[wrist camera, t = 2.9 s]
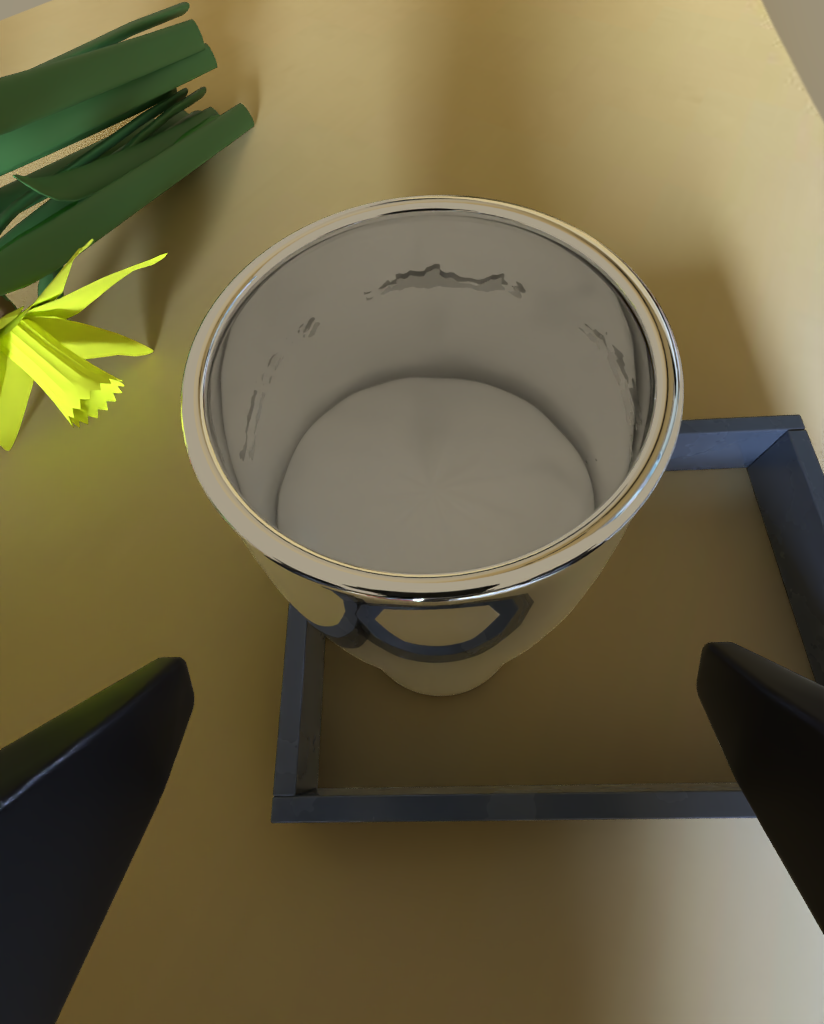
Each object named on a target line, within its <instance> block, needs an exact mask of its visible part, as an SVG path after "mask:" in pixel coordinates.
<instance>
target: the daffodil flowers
mask: <svg viewBox="0 0 824 1024" xmlns="http://www.w3.org/2000/svg"><path fill="white" fill-rule="evenodd" d="M188 9H189V3H187V2H182V3H179V4H177V5H174V6H172V7H169V8H166V9H164V10H161V11H158V12H156V13H153V14H150V15H148V16H145V17H142V18H140V19H137V20H134V21H132V22H129V23H127V24H125V25H123V26H121V27H119V28H117V29H115V30H113V31H111V32H108V33H106V34H104V35H102V36H100V37H98V38H96V39H94V40H92V41H90V42H87V43H85V44H83V45H81V46H79V47H77V48H75V49H73V50H71V51H68V52H66V53H64V54H62V55H60V56H58V57H55V58H53V59H51V60H49V61H47V62H45V63H42V64H40V65H38V66H36V67H34V68H31V69H29V70H26V71H23V72H19V73H15V74H12V75H8V76H4V77H1V78H0V176H2V175H4V174H6V173H9V172H11V171H13V170H15V169H18V168H20V167H22V166H24V165H27V164H29V163H31V162H33V161H36V160H38V159H40V158H42V157H45V156H47V155H49V154H51V153H54V152H56V151H58V150H60V149H62V148H65V147H67V146H69V145H71V144H74V143H76V142H78V141H80V140H82V139H85V138H87V137H89V136H91V135H93V134H96V133H98V132H100V131H102V130H104V129H106V128H108V127H110V126H113V125H115V124H117V123H119V122H121V121H123V120H125V119H127V118H130V117H132V116H134V115H136V114H138V113H140V112H142V111H144V110H146V109H148V108H150V107H152V106H153V107H152V108H150V109H148V110H147V111H145V112H143V113H142V114H140V115H139V116H138V117H136V118H135V119H133V120H132V121H130V122H129V123H128V124H126V125H125V126H123V127H122V128H120V129H119V130H118V131H116V132H115V133H113V134H112V135H110V136H109V137H107V138H104V139H102V140H100V141H98V142H96V143H94V144H92V145H90V146H87V147H85V148H83V149H81V150H79V151H77V152H75V153H73V154H70V155H68V156H66V157H64V158H62V159H60V160H58V161H56V162H54V163H51V164H49V165H47V166H45V167H43V168H41V169H39V170H37V171H35V172H33V173H30V174H28V175H26V176H21V175H13V177H14V178H16V179H17V180H16V181H14V182H12V183H9V184H7V185H5V186H3V187H1V188H0V235H1V233H2V232H3V231H4V229H5V228H6V227H7V226H8V224H9V223H10V222H11V221H12V220H13V219H14V218H15V217H16V216H17V215H18V214H19V213H21V212H22V211H24V210H26V209H28V208H30V207H31V206H33V205H35V204H37V203H39V202H41V201H43V200H44V199H46V198H48V197H49V198H51V199H50V200H48V201H47V202H46V203H44V204H43V205H42V206H40V207H39V208H38V209H37V210H35V211H34V212H33V213H31V214H30V215H29V216H27V217H26V218H25V219H24V220H22V221H21V222H20V223H18V224H17V225H16V226H15V227H14V228H12V229H11V230H10V231H9V232H7V233H6V234H5V235H4V236H3V237H2V238H0V445H1V446H2V447H3V448H4V449H5V450H6V451H10V450H11V448H12V446H13V444H14V441H15V439H16V437H17V434H18V431H19V428H20V426H21V423H22V419H23V416H24V412H25V409H26V405H27V402H28V399H29V395H30V392H31V389H32V386H33V382H34V381H35V382H36V383H37V384H38V385H39V386H40V387H41V388H42V389H43V390H44V392H45V393H46V394H47V395H48V396H49V397H50V398H51V399H52V401H53V402H54V403H55V404H56V406H57V407H58V408H59V409H60V411H61V412H62V413H63V415H64V416H65V417H66V419H67V420H68V421H69V423H70V424H71V425H72V427H73V423H74V424H75V425H76V426H77V427H79V428H80V424H79V421H81V422H83V423H86V424H88V416H90V417H95V418H98V409H100V410H108V408H107V403H106V401H116V399H115V397H114V394H113V393H122V392H121V390H120V389H119V387H118V386H124V385H123V384H122V383H121V382H119V381H121V380H120V379H118V378H116V377H114V376H112V375H110V374H108V373H107V372H105V371H103V370H101V369H99V368H98V367H96V366H94V365H93V364H91V363H89V362H88V361H86V360H85V359H92V358H99V357H106V356H113V355H126V356H142V355H148V354H150V353H152V352H154V351H153V350H152V349H151V348H149V347H147V346H145V345H143V344H141V343H139V342H137V341H135V340H132V339H130V338H127V337H125V336H122V335H120V334H118V333H114V332H111V331H108V330H104V329H101V328H98V327H94V326H91V325H88V324H83V323H79V322H75V321H71V320H66V319H68V318H70V317H72V316H74V315H76V314H78V313H80V312H81V311H82V310H83V309H84V308H86V307H87V306H88V305H89V304H90V303H92V302H93V301H94V300H95V299H97V298H98V297H99V296H100V295H101V294H103V293H104V292H105V291H106V290H107V289H109V288H110V287H111V286H112V285H114V284H115V283H117V282H118V281H119V280H121V279H122V278H124V277H125V276H126V275H128V274H129V273H131V272H132V271H133V270H136V269H140V268H143V267H147V266H150V265H153V264H155V263H157V262H158V261H160V260H161V259H163V258H164V257H165V256H166V255H167V253H165V254H162V255H159V256H157V257H155V258H153V259H150V260H148V261H145V262H142V263H140V264H137V265H134V266H131V267H129V268H126V269H124V270H121V271H119V272H116V273H114V274H111V275H108V276H106V277H103V278H101V279H99V280H97V281H95V282H93V283H91V284H89V285H87V286H85V287H83V288H81V289H79V290H76V291H74V292H72V293H70V294H68V295H66V296H64V294H63V290H64V286H65V283H66V280H67V277H68V274H69V271H70V268H71V265H72V262H73V260H74V258H75V257H76V256H77V255H79V254H80V253H81V252H83V251H84V250H85V249H87V248H88V247H90V246H91V245H92V244H94V243H95V242H96V241H98V240H99V239H101V238H102V237H103V236H105V235H106V234H107V233H109V232H110V231H111V230H113V229H114V228H116V227H117V226H118V225H120V224H121V223H122V222H124V221H125V220H127V219H128V218H129V217H131V216H132V215H133V214H135V213H136V212H137V211H139V210H140V209H142V208H143V207H144V206H146V205H147V204H148V203H150V202H151V201H152V200H154V199H155V198H157V197H158V196H159V195H161V194H162V193H163V192H165V191H166V190H168V189H169V188H170V187H172V186H173V185H174V184H176V183H177V182H178V181H180V180H181V179H183V178H184V177H185V176H187V175H188V174H189V173H191V172H192V171H194V170H195V169H196V168H198V167H199V166H200V165H202V164H203V163H204V162H206V161H207V160H209V159H210V158H211V157H213V156H214V155H215V154H217V153H218V152H220V151H221V150H222V149H224V148H225V147H226V146H228V145H229V144H230V143H232V142H233V141H235V140H236V139H237V138H239V137H240V136H241V135H243V134H244V133H245V132H247V131H248V130H250V129H251V128H252V127H254V121H253V119H252V117H251V115H250V113H249V112H248V110H247V109H246V107H245V106H244V105H243V104H241V103H239V104H238V105H236V106H235V107H233V108H231V109H230V110H228V111H227V112H225V113H223V114H222V115H219V114H218V112H217V111H216V110H214V109H213V108H212V107H209V108H207V109H205V110H203V111H193V112H191V113H190V114H188V113H187V112H185V111H184V109H186V108H187V107H189V106H190V105H192V104H193V103H195V102H196V101H198V100H199V99H201V98H202V97H203V96H204V95H205V93H206V87H201V88H200V89H198V90H197V91H195V92H193V93H192V94H190V95H189V96H187V97H186V95H187V93H188V89H187V88H184V89H182V90H180V91H178V92H177V89H176V87H178V86H180V85H182V84H184V83H187V82H189V81H191V80H193V79H195V78H197V77H199V76H201V75H203V74H205V73H207V72H209V71H211V70H213V69H215V68H217V63H216V59H215V57H214V55H213V53H212V51H211V49H210V47H209V46H208V45H207V44H206V43H205V44H204V41H203V38H202V35H201V33H200V30H199V28H198V26H197V25H196V23H195V22H194V20H192V19H191V20H188V21H185V22H182V23H179V24H176V25H173V26H170V27H167V28H164V29H160V30H157V31H154V32H151V33H148V34H145V35H142V36H139V37H136V38H132V39H129V40H126V41H123V40H125V39H127V38H129V37H131V36H133V35H135V34H138V33H140V32H143V31H145V30H147V29H150V28H152V27H155V26H157V25H160V24H162V23H165V22H167V21H169V20H172V19H174V18H177V17H179V16H182V15H183V14H185V13H186V12H187V11H188ZM121 41H123V42H121ZM119 42H120V43H119ZM156 104H157V105H156ZM154 105H155V106H154ZM161 113H162V114H161ZM160 114H161V115H160ZM158 115H160V116H158ZM156 116H158V117H157V118H156V119H153V118H155V117H156ZM66 263H67V264H66ZM65 264H66V265H65ZM63 265H65V266H64V267H63ZM38 280H39V284H38V298H37V300H36V301H35V302H34V303H33V304H32V305H31V306H29V307H28V308H27V309H26V310H24V311H23V312H21V311H22V309H23V307H24V306H23V307H21V308H19V309H17V308H16V306H15V305H14V304H13V303H12V302H11V301H10V300H9V299H8V298H7V297H6V296H5V294H7V293H10V292H13V291H15V290H18V289H21V288H24V287H26V286H29V285H31V284H33V283H34V282H36V281H38ZM56 298H57V300H55V299H56ZM54 300H55V301H54ZM122 382H123V381H122ZM73 428H74V427H73Z"/></svg>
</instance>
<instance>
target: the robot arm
mask: <svg viewBox="0 0 824 1024" xmlns="http://www.w3.org/2000/svg"><path fill="white" fill-rule="evenodd" d="M697 692H698V696H699V699H700V701H701V703H702V705H703V708H704V710H705V712H706V714H707V717H708V719H709V721H710V723H711V726H712V728H713V730H714V732H715V735H716V737H717V739H718V741H719V744H720V746H721V748H722V750H723V753H724V755H725V757H726V759H727V762H728V764H729V766H730V768H731V770H732V772H733V775H734V777H735V779H736V781H737V783H738V785H739V787H740V788H741V790H742V792H743V794H744V796H745V798H746V799H747V801H748V803H749V805H750V806H751V808H752V810H753V812H754V813H755V815H756V817H757V819H758V820H759V822H760V824H761V826H762V827H763V829H764V831H765V833H766V834H767V836H768V838H769V840H770V841H771V843H772V845H773V847H774V848H775V850H776V852H777V854H778V855H779V857H780V859H781V861H782V862H783V864H784V866H785V868H786V869H787V871H788V873H789V875H790V876H791V878H792V880H793V882H794V883H795V885H796V887H797V889H798V890H799V892H800V894H801V896H802V897H803V899H804V901H805V903H806V904H807V906H808V908H809V910H810V911H811V913H812V915H813V917H814V918H815V920H816V922H817V924H818V925H819V927H820V929H821V931H822V932H823V934H824V686H822V685H819V684H817V683H815V682H813V681H811V680H809V679H807V678H805V677H803V676H801V675H799V674H797V673H795V672H793V671H791V670H789V669H786V668H784V667H782V666H780V665H778V664H776V663H774V662H772V661H770V660H768V659H766V658H764V657H762V656H760V655H758V654H756V653H754V652H751V651H749V650H747V649H745V648H743V647H741V646H739V645H737V644H735V643H732V642H710V643H707V644H706V645H704V647H703V650H702V654H701V659H700V665H699V671H698V676H697ZM193 706H194V692H193V688H192V684H191V680H190V676H189V672H188V668H187V665H186V662H185V660H184V659H182V658H181V657H162V658H158V659H156V660H154V661H152V662H150V663H149V664H147V665H145V666H144V667H142V668H140V669H138V670H137V671H135V672H133V673H132V674H130V675H128V676H126V677H125V678H123V679H121V680H119V681H118V682H116V683H114V684H113V685H111V686H109V687H107V688H106V689H104V690H102V691H101V692H99V693H97V694H95V695H94V696H92V697H90V698H88V699H87V700H85V701H83V702H82V703H80V704H78V705H76V706H75V707H73V708H71V709H70V710H68V711H66V712H64V713H63V714H61V715H59V716H57V717H56V718H54V719H52V720H51V721H49V722H47V723H45V724H44V725H42V726H40V727H38V728H37V729H35V730H33V731H32V732H30V733H28V734H26V735H25V736H23V737H21V738H20V739H18V740H16V741H14V742H13V743H11V744H9V745H7V746H6V747H4V748H2V749H1V750H0V1024H55V1023H56V1021H57V1018H58V1016H59V1014H60V1012H61V1010H62V1008H63V1006H64V1004H65V1001H66V999H67V997H68V995H69V993H70V991H71V989H72V986H73V984H74V982H75V980H76V978H77V976H78V974H79V972H80V969H81V967H82V965H83V963H84V961H85V959H86V957H87V954H88V952H89V950H90V948H91V946H92V944H93V942H94V939H95V937H96V935H97V933H98V931H99V929H100V927H101V925H102V922H103V920H104V918H105V916H106V914H107V912H108V910H109V907H110V905H111V903H112V901H113V899H114V897H115V895H116V892H117V890H118V888H119V886H120V884H121V882H122V880H123V878H124V875H125V873H126V871H127V869H128V867H129V865H130V863H131V860H132V858H133V856H134V854H135V852H136V850H137V848H138V845H139V843H140V841H141V839H142V837H143V835H144V833H145V831H146V828H147V826H148V824H149V822H150V820H151V818H152V816H153V813H154V811H155V809H156V807H157V805H158V803H159V800H160V798H161V796H162V794H163V791H164V789H165V786H166V783H167V781H168V778H169V776H170V773H171V770H172V767H173V764H174V761H175V758H176V756H177V753H178V750H179V747H180V744H181V741H182V739H183V736H184V733H185V730H186V727H187V724H188V721H189V719H190V716H191V713H192V710H193Z"/></svg>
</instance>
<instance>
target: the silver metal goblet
mask: <svg viewBox="0 0 824 1024" xmlns="http://www.w3.org/2000/svg"><path fill="white" fill-rule="evenodd" d="M683 405H684V380H683V370H682V364H681V359H680V354H679V350H678V346H677V343H676V340H675V337H674V334H673V332H672V329H671V327H670V324H669V322H668V320H667V318H666V316H665V314H664V312H663V310H662V308H661V306H660V305H659V303H658V302H657V300H656V298H655V297H654V295H653V294H652V293H651V291H650V290H649V288H648V287H647V286H646V285H645V283H644V282H643V281H642V280H641V278H640V277H639V276H638V275H637V274H636V273H635V272H634V271H633V270H632V269H631V267H630V266H628V265H627V264H626V263H625V262H624V261H623V260H622V259H621V258H620V257H619V256H618V255H616V254H615V253H614V252H613V251H611V250H610V249H609V248H608V247H606V246H605V245H603V244H602V243H601V242H599V241H598V240H596V239H595V238H593V237H592V236H590V235H588V234H587V233H585V232H583V231H582V230H580V229H578V228H576V227H574V226H572V225H570V224H568V223H566V222H564V221H562V220H560V219H558V218H555V217H553V216H550V215H548V214H545V213H543V212H540V211H537V210H534V209H531V208H528V207H524V206H521V205H517V204H513V203H509V202H504V201H499V200H494V199H488V198H481V197H472V196H460V195H422V196H410V197H401V198H394V199H387V200H382V201H377V202H373V203H368V204H364V205H360V206H357V207H353V208H350V209H347V210H344V211H341V212H338V213H335V214H332V215H330V216H327V217H325V218H322V219H320V220H318V221H315V222H313V223H311V224H309V225H307V226H305V227H303V228H301V229H299V230H297V231H295V232H294V233H292V234H290V235H288V236H287V237H285V238H283V239H282V240H280V241H279V242H277V243H276V244H274V245H273V246H271V247H270V248H268V249H267V250H266V251H264V252H263V253H262V254H260V255H259V256H258V257H257V258H255V259H254V260H253V261H252V262H251V263H250V264H248V265H247V266H246V267H245V268H244V269H243V270H242V271H241V272H240V273H239V274H238V275H237V276H236V277H235V278H234V279H233V280H232V281H231V282H230V283H229V285H228V286H227V287H226V288H225V289H224V291H223V292H222V293H221V294H220V296H219V297H218V298H217V300H216V301H215V302H214V304H213V305H212V307H211V308H210V310H209V311H208V313H207V315H206V316H205V318H204V320H203V322H202V324H201V326H200V327H199V330H198V332H197V334H196V336H195V338H194V341H193V343H192V346H191V349H190V352H189V355H188V358H187V362H186V365H185V370H184V374H183V380H182V387H181V401H180V413H181V425H182V432H183V438H184V443H185V447H186V450H187V454H188V457H189V460H190V463H191V466H192V468H193V470H194V473H195V475H196V477H197V479H198V482H199V484H200V486H201V487H202V489H203V491H204V493H205V494H206V496H207V498H208V499H209V501H210V502H211V504H212V505H213V507H214V508H215V509H216V511H217V512H218V513H219V515H220V516H221V517H222V518H223V519H224V521H225V522H226V523H227V524H228V525H229V526H230V527H231V528H232V529H233V530H234V531H235V532H236V533H237V534H238V535H239V536H240V537H241V539H242V540H243V541H244V543H245V544H246V546H247V547H248V549H249V550H250V552H251V553H252V555H253V556H254V558H255V559H256V560H257V562H258V563H259V565H260V566H261V567H262V569H263V570H264V571H265V572H266V574H267V575H268V576H269V578H270V579H271V580H272V582H273V583H274V584H275V586H276V587H277V588H278V590H279V591H280V592H281V593H282V595H283V596H284V597H285V598H286V599H287V600H288V601H289V602H290V603H291V604H292V605H293V606H294V607H295V609H296V610H297V611H298V612H299V613H300V614H301V615H302V616H303V617H304V618H305V619H306V620H307V621H308V622H309V623H310V624H311V625H312V626H313V627H314V628H315V629H316V630H318V631H319V632H320V633H321V634H323V635H324V636H325V637H326V638H328V639H329V640H331V641H332V642H333V643H335V644H336V645H338V646H339V647H341V648H342V649H344V650H345V651H346V652H348V653H350V654H351V655H353V656H354V657H356V658H358V659H360V660H362V661H364V662H366V663H368V664H370V665H372V666H375V667H377V668H380V669H382V670H383V671H384V672H385V673H386V674H387V675H388V676H389V677H390V678H391V679H393V680H394V681H395V682H397V683H398V684H400V685H401V686H403V687H405V688H407V689H409V690H411V691H414V692H417V693H421V694H425V695H431V696H450V695H456V694H460V693H464V692H467V691H469V690H472V689H474V688H476V687H478V686H479V685H481V684H483V683H484V682H486V681H487V680H488V679H489V678H491V677H492V676H493V675H494V674H495V673H496V672H497V671H498V670H499V669H500V667H501V666H502V665H503V664H504V663H506V662H508V661H510V660H512V659H514V658H515V657H517V656H519V655H521V654H522V653H524V652H525V651H527V650H528V649H529V648H531V647H532V646H533V645H535V644H536V643H537V642H538V641H540V640H541V639H542V638H543V637H545V636H546V635H547V634H548V633H549V632H550V631H552V630H553V629H554V628H555V627H556V626H557V625H558V624H560V623H561V622H562V621H563V620H564V619H565V618H566V617H567V615H568V614H569V613H570V612H571V611H572V610H573V609H574V607H575V606H576V605H577V604H578V602H579V601H580V600H581V598H582V597H583V596H584V595H585V593H586V592H587V591H588V589H589V588H590V587H591V585H592V584H593V583H594V582H595V580H596V579H597V577H598V576H599V575H600V573H601V571H602V570H603V568H604V566H605V565H606V563H607V562H608V560H609V558H610V557H611V555H612V553H613V552H614V550H615V548H616V547H617V545H618V544H619V542H620V540H621V538H622V537H623V535H624V533H625V531H626V529H627V527H628V526H629V524H630V522H631V520H632V518H633V516H634V515H635V514H636V513H637V512H638V511H639V509H640V508H641V507H642V506H643V504H644V503H645V502H646V500H647V499H648V498H649V496H650V495H651V493H652V492H653V490H654V489H655V487H656V486H657V484H658V482H659V481H660V479H661V477H662V475H663V473H664V471H665V469H666V467H667V465H668V463H669V461H670V458H671V456H672V453H673V451H674V447H675V444H676V441H677V438H678V434H679V430H680V426H681V420H682V414H683Z"/></svg>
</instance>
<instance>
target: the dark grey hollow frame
mask: <svg viewBox="0 0 824 1024" xmlns="http://www.w3.org/2000/svg"><path fill="white" fill-rule="evenodd" d="M804 429H805V426H804V424H803V421H802V419H801V416H800V415H780V416H758V417H737V418H716V419H695V420H681V426H680V430H679V434H678V438H677V441H676V444H675V447H674V451H673V453H672V456H671V458H670V461H669V463H668V465H667V467H666V469H665V471H677V470H701V469H724V468H747V471H748V474H749V477H750V480H751V483H752V487H753V490H754V493H755V496H756V499H757V502H758V505H759V508H760V511H761V514H762V517H763V520H764V523H765V526H766V530H767V533H768V536H769V539H770V542H771V545H772V548H773V551H774V554H775V557H776V560H777V563H778V566H779V569H780V572H781V576H782V579H783V582H784V585H785V588H786V591H787V594H788V597H789V600H790V603H791V606H792V609H793V612H794V615H795V619H796V622H797V625H798V628H799V631H800V634H801V637H802V640H803V643H804V646H805V649H806V652H807V655H808V658H809V662H810V665H811V668H812V671H813V674H814V677H815V680H816V683H817V684H819V685H822V686H824V474H823V472H822V469H821V466H820V464H819V461H818V459H817V456H816V454H815V451H814V449H813V446H812V444H811V441H810V439H809V436H808V434H807V431H806V430H804ZM324 655H325V636H324V635H323V634H321V633H320V632H319V631H318V630H316V629H315V628H314V627H313V626H312V625H311V624H310V623H309V622H308V621H307V620H306V619H305V618H304V617H303V616H302V615H301V614H300V613H299V612H298V611H297V610H296V609H295V607H294V606H293V605H292V604H291V603H290V602H289V609H288V621H287V633H286V645H285V657H284V669H283V681H282V693H281V705H280V717H279V729H278V741H277V753H276V765H275V777H274V788H273V796H274V797H273V800H272V812H271V823H335V822H426V821H517V820H608V819H699V818H757V817H756V815H755V813H754V812H753V810H752V808H751V806H750V805H749V803H748V801H747V799H746V798H745V796H744V794H743V792H742V790H741V788H740V787H739V785H738V783H737V782H733V783H662V784H592V785H521V786H451V787H380V788H317V787H318V770H319V751H320V732H321V713H322V694H323V674H324Z"/></svg>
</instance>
